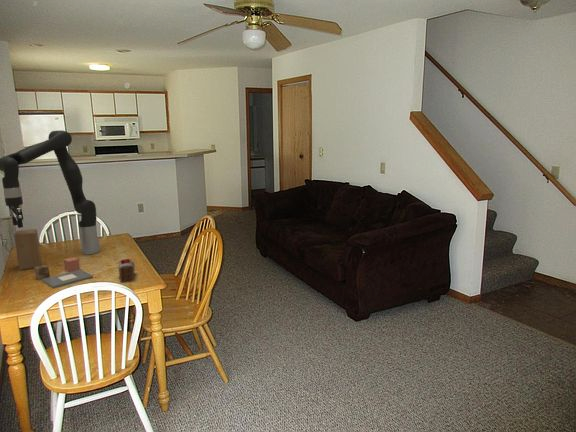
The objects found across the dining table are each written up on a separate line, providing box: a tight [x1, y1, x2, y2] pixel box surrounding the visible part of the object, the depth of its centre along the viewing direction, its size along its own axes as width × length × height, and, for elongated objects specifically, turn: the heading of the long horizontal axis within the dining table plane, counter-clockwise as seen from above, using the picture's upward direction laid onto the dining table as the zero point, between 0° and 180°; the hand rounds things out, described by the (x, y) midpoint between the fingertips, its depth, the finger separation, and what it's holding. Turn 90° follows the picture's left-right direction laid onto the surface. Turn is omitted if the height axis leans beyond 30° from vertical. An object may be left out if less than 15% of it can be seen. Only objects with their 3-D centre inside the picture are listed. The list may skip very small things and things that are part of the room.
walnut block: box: [33, 264, 51, 281], centre depth 212 cm, size 5×5×6 cm
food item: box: [118, 258, 136, 283], centre depth 212 cm, size 14×8×10 cm, turn 25°
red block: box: [63, 256, 80, 273], centre depth 224 cm, size 6×6×6 cm
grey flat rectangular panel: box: [41, 269, 94, 289], centre depth 210 cm, size 19×15×1 cm
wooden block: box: [13, 228, 42, 271], centre depth 229 cm, size 10×10×20 cm
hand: (18, 226), depth 218 cm, fingers open, 8 cm apart
